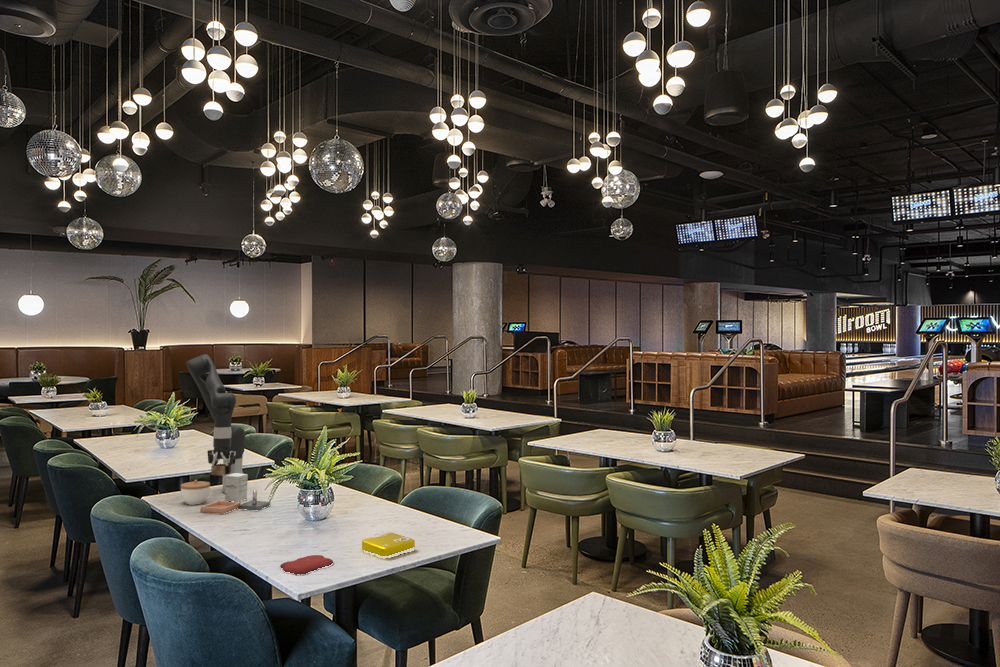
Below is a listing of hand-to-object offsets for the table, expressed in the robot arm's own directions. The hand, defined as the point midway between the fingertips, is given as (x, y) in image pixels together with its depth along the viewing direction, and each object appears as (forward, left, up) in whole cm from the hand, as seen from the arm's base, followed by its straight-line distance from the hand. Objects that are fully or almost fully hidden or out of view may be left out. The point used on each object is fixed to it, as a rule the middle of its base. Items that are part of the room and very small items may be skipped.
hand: (221, 473), depth 288 cm
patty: (+55, +76, -17) cm, 96 cm away
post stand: (-8, +12, -17) cm, 22 cm away
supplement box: (-18, -5, -17) cm, 25 cm away
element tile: (+33, +96, -17) cm, 103 cm away
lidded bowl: (-8, -20, -17) cm, 27 cm away
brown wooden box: (0, 0, 0) cm, 0 cm away
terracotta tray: (0, 0, -17) cm, 17 cm away
